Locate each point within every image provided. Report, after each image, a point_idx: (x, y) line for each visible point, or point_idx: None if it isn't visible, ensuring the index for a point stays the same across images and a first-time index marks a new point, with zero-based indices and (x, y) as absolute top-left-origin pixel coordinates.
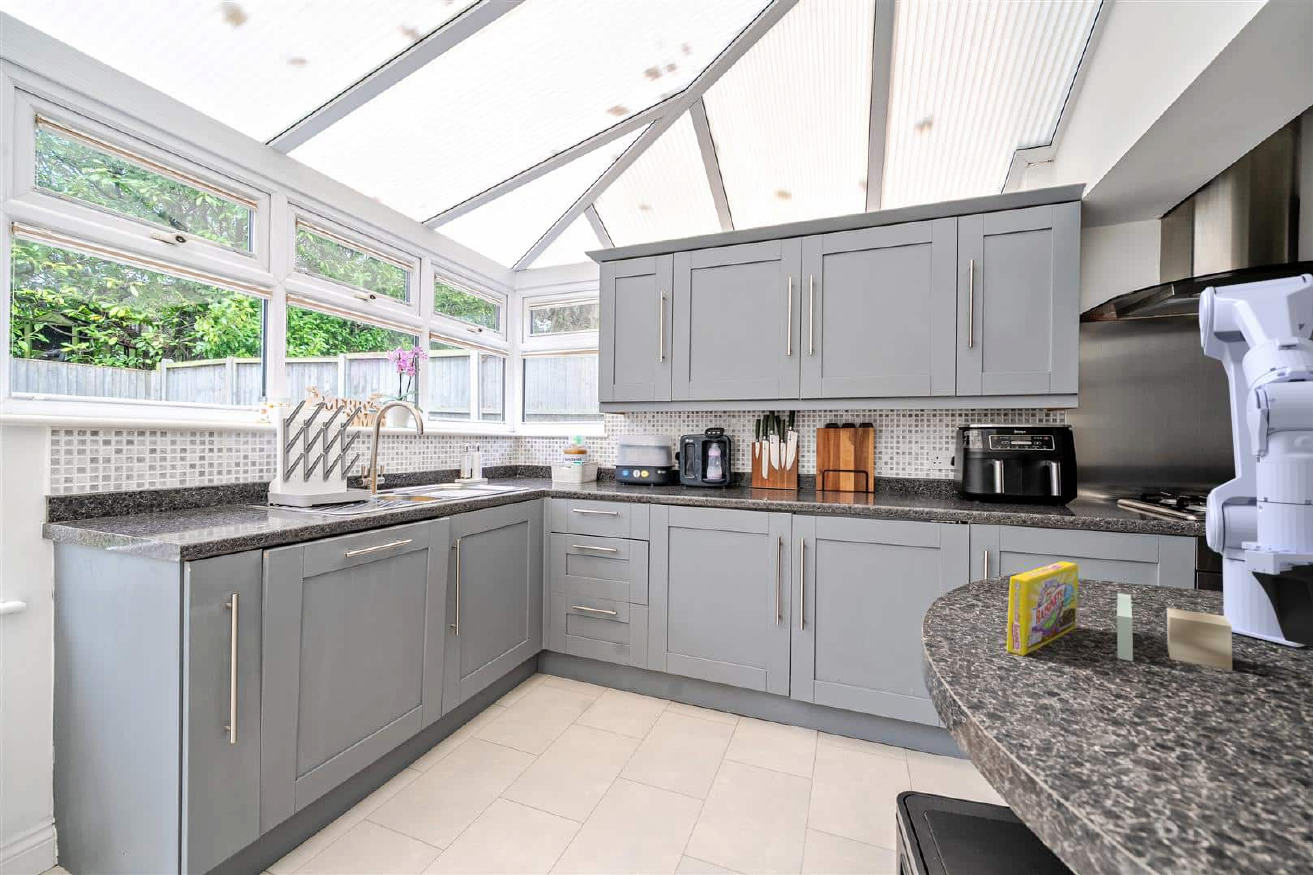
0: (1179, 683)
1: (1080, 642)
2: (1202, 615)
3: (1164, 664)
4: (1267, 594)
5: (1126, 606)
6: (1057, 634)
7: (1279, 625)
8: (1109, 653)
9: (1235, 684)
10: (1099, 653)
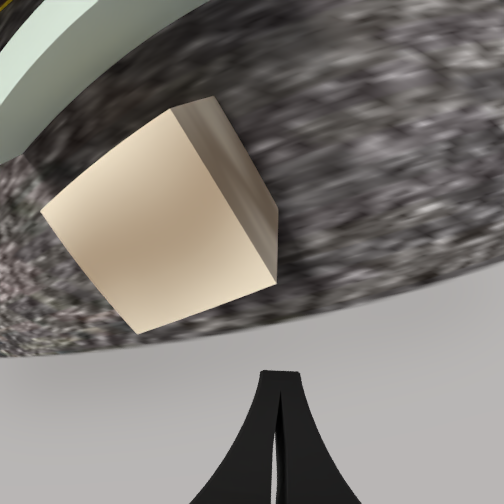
0: (20, 248)
1: None
2: (186, 245)
3: (65, 183)
4: (214, 474)
5: (5, 78)
6: (4, 2)
7: (258, 395)
8: None
9: None
10: None
